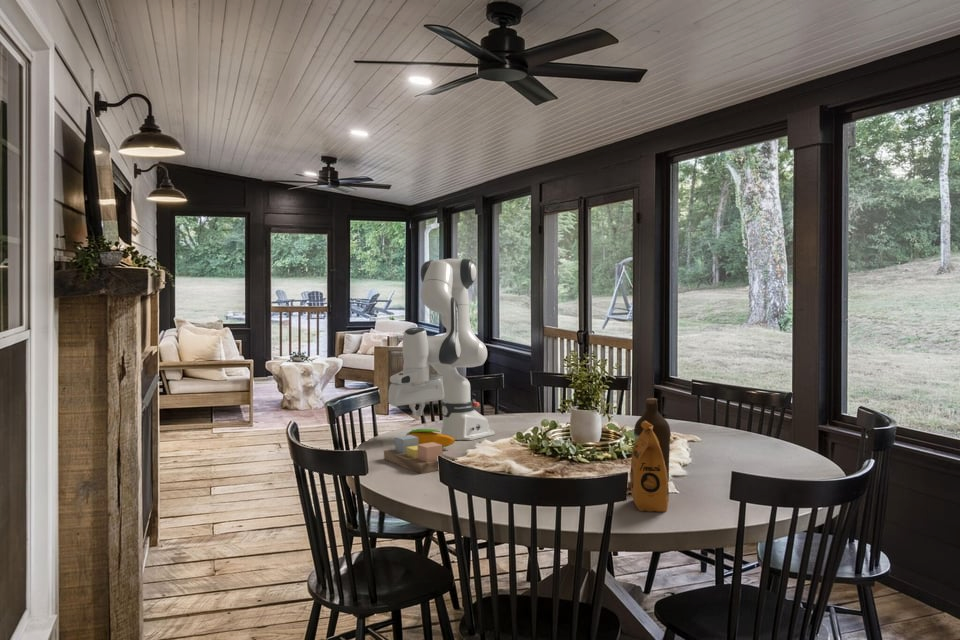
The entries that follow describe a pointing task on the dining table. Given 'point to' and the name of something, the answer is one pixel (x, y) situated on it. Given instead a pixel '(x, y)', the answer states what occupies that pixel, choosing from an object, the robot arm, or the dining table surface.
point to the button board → (412, 461)
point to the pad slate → (405, 442)
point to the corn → (431, 437)
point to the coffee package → (649, 473)
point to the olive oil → (656, 428)
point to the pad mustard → (412, 451)
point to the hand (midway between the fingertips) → (417, 415)
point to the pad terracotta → (429, 451)
